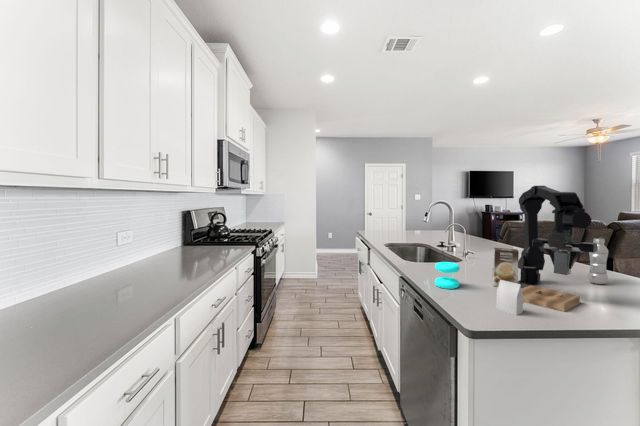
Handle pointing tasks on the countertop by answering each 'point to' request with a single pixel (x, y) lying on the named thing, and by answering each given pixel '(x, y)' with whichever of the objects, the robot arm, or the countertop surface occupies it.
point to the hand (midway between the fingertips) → (562, 267)
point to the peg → (562, 262)
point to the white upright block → (510, 297)
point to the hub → (550, 298)
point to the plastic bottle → (598, 263)
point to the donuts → (447, 281)
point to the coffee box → (505, 265)
